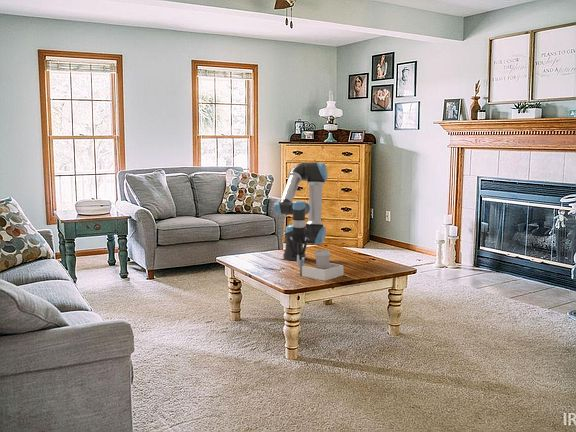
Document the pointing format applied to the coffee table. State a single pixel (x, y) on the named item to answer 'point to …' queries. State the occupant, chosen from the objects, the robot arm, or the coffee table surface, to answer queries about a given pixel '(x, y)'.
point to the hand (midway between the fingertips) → (298, 265)
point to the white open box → (322, 272)
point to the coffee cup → (322, 259)
